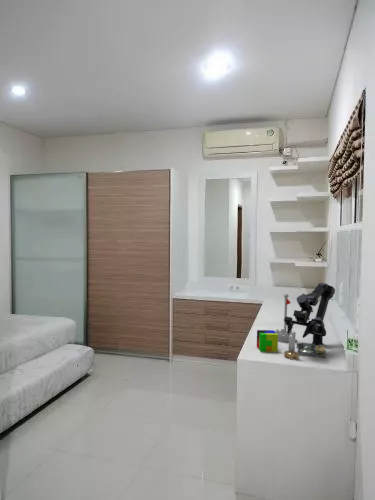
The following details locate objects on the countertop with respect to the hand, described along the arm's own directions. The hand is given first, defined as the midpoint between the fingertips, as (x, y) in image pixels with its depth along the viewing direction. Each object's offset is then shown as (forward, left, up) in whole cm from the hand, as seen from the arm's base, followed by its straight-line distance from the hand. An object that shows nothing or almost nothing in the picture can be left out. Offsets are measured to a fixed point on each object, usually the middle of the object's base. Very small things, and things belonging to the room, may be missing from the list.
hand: (295, 335), depth 210 cm
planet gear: (+4, -1, -11) cm, 12 cm away
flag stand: (-30, -9, -11) cm, 34 cm away
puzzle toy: (-5, -16, -11) cm, 21 cm away
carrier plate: (-8, +9, -11) cm, 16 cm away
